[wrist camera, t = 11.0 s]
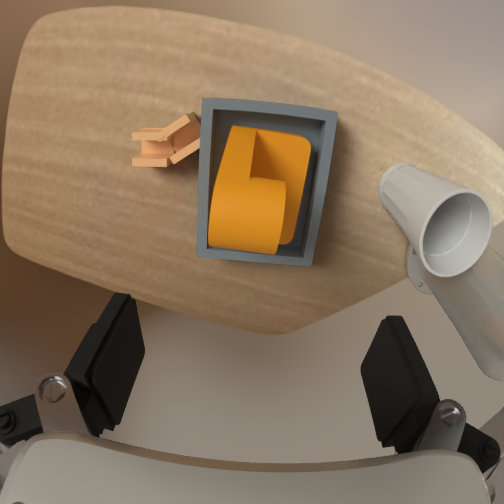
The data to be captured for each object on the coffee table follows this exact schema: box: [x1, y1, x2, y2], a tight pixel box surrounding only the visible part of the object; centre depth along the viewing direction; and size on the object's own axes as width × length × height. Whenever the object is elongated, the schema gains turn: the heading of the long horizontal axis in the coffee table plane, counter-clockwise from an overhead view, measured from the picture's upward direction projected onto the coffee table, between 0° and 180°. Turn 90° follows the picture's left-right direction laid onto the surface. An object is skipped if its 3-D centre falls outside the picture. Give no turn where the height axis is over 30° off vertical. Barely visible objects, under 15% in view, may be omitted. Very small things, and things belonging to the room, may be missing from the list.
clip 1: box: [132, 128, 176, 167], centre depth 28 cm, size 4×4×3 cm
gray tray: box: [197, 98, 338, 267], centre depth 29 cm, size 12×16×4 cm
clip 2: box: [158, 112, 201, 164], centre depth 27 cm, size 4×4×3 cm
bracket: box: [208, 125, 311, 255], centre depth 25 cm, size 11×7×12 cm, turn 172°
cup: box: [378, 162, 492, 277], centre depth 25 cm, size 8×8×12 cm
